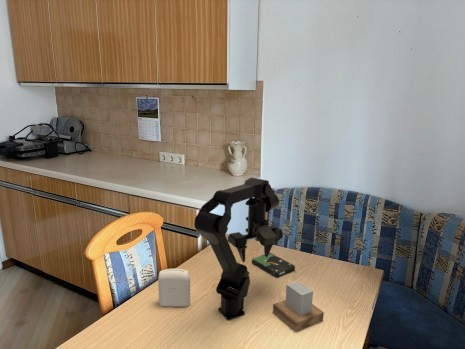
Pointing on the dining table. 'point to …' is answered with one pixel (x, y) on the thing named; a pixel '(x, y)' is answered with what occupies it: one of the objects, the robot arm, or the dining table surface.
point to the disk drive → (273, 265)
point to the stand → (297, 316)
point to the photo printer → (174, 288)
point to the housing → (299, 298)
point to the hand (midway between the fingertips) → (255, 259)
